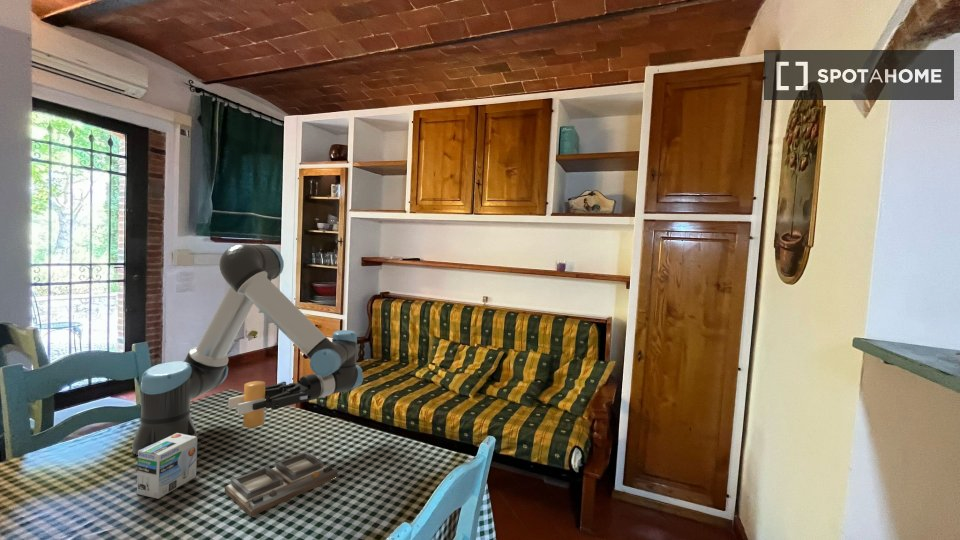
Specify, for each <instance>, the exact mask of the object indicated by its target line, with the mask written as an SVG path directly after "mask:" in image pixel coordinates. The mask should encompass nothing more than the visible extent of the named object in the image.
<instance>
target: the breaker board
mask: <svg viewBox="0 0 960 540" xmlns="http://www.w3.org/2000/svg"><path fill="white" fill-rule="evenodd" d="M335 477H337V478H338V473H337V472H336V469H334V468H333V466H331V465H329V466H327V465H325V464H324V461H322V460H320V459H319V458H317V457H315V456H314V455H313V454H311V453H309V452H308V451H305V452H302V453H299V454H296V455H293V456H290V457H288V458H285V459H283V460H280V461H278V462H276V463H275V467H273V468H270V467H269V466H264V467H262V468H259V469H256V470H254V471H251V472H248V473H245V474H242V475H239V476H238V477H235V478H232V479H231V483H230V484H228V485H226V486H224V493H225V494H226V495H227V496H228V497H230V499H231V500H232V501H234V502H235V504H236V505H238V506H239V507H240V508H241V510H243V511H244V512H245V513H246V514H247V515H248V516H249V517H253V516H256V515H258V514H260V513H263V512H265V511H266V510H269V509H271V508H273V507H276V506H277V505H280V504H282V503H285V502H287V501H289V500H291V499H294V498H296V497H297V496H298V497H299V495H302V494H304V493H306V492H309V491H310V490H312V489H315V488H317V487H319V486H321V484H322V485H323V483H324V484H326V483H328V482H330V481H332V480H331V479H333V478H335ZM335 479H336V478H335ZM329 480H330V481H329ZM333 480H334V479H333ZM327 481H328V482H327ZM325 482H326V483H325Z"/></svg>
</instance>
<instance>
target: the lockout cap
mask: <svg viewBox="0 0 960 540" xmlns="http://www.w3.org/2000/svg"><path fill="white" fill-rule="evenodd" d="M243 386H244V388H243V389H244V390H243V392H244V393H243V395H244V402H248V401H252V400H256V399H260V398H265V387H266V381H262V380H254V381H249V382H246V383H244V385H243ZM265 409H266V407H265V408H263V409H260V410H256V411H252V412H248V413H245V414H243V424H242V426H243V427H244V428H250V429H251V428H258V427H261V426H263V425H264V424H265V414H266V413H265V411H266V410H265Z"/></svg>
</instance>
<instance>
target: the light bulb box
mask: <svg viewBox="0 0 960 540" xmlns="http://www.w3.org/2000/svg"><path fill="white" fill-rule="evenodd" d="M197 457H198V436H197V435H196V436H190V435H185V434H180V433H176V434H174V435H171V436H169V437H167V438H165V439H163V440H161V441H159V442H156V443H154V444H152V445H150V446H148V447H145V448H143V449H141V450H139V451H138V456H137V474H136V476H137V477H136V479H137V480H136V494H137V495H141V496H145V497H149V498H154V499H157V500H158V499H161V498H162V497H164V496H165V495H167V494H169V493H171V492H173V491H174V490H176V489H177V488H179V487H181V486H183V485H184V484H186V483H188V482H189V481H191V480H193V479H194V478H196V477H197V462H198V461H197Z"/></svg>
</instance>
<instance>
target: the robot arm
mask: <svg viewBox="0 0 960 540" xmlns="http://www.w3.org/2000/svg"><path fill="white" fill-rule="evenodd" d="M284 264H285V263H284V259H283V256H282V254H281V252H280V251H278V250H277V248H275V247H273V246H272V245H271V246H270V245H267V244H263V243H260V244H245V243H242V244H241V243H239V244H236V245H235V244H234V245H232V246H230V247H228V248H227V249H226V250H225V251H224V252H223V253H222V254H221V256H220V260H219V270H220V274H221V276H222V278H223V279H224V281H226V283H227V284H228V288H227V290H226V292H225V294H224V296H223V297H222V299H221V301H220V304H219V305H218V307H217V309H216V311H215V313H214V315H213V316H212V319H211V320H210V323H209V325H208V326H207V328H206V330H205V331H204V334H203V336H202V337H201V340H200V342H199V343H198V345H197V346H193V347H191V348H190V349H189V351H188V353H187V355H186V356H185V359H184V361H180V360H179V361H178V360H176V361H174V360H173V361H168V362H163V363H159V364H156V365H153V366H150V367H149V368H148V369H146V370H145V371H144V372H143V373H142V376H141V383H140V385H139V386H140V388H139V389H140V424H139V425H138V428H137V431H136V434H135V435H134V438H133V441H132V445H131V447H132V448H131V450H132V451H133V452H132V451H131V452H132V454H134V455H135V454H136V455H135V456H137V455H138V451H139V450H141V449H143V448H145V447H148V446H150V445H152V444H154V443H156V442H159V441H161V440H163V439H165V438H167V437H169V436H171V435H174V434H176V433H180V434H185V435H190V436H196V437H197V430H196V427H195V424H194V422H193V419H192V417H191V400H193V399H196V398H197V397H200V396H201V395H203V394H205V393H208V392H210V391H213V390H215V389H216V388H218V386H220V385H221V384H223V382H224V381H225V380H226V379H227V376H228V372H229V367H228V363H229V356H228V355H227V354H228V352H229V350H230V349H231V347H232V345H233V342H234V341H235V339H236V337H237V335H238V334H239V331H240V329H241V328H242V326H243V325H244V322H245V320H246V318H247V316H249V315H248V314H249V312H250V311H251V309H252V307H253V305H254V306H256V308H257V309H258V310H260V312H262V314H263V315H264V316H266V317H267V318H268V319H269V321H270V322H272V323H273V325H275V326H276V328H278V329H279V331H281V332H282V333H283V334H284V335H285V337H287V338H288V339H289V340H290V341H291V342H292V343H293V344H294V345H295V346H296V347H297V348H298V349H299V350H300V351H301V352H302V353H303V354H304V355H305V356H306V357H307V358H308V359H309V366H310V368H311V371H312V372H313V373H311V374H308V375H307V374H306V375H302V376H301V377H300V378H299V380H298V382H297V383H296V382H290V383H288V384H287V382H286V381H281V382H279V383H275V384H271V385H265V398H260V399H256V400H252V401H248V402H244V394H240V395H238V396H232V397H228V398H227V399H228V402H227V403H228V404H227V408H228V410H231V409H235V408H237V413H236V414H237V415H238V416H240V415H244V414H245V413H248V412H252V411H256V410H260V409H263V408H265V409H271V410H273V411H274V410H279V409H281V408H285V407H288V406H289V407H290V406H292V405H295V404H296V405H297V404H299V403H300V404H301V403H305V402H310V401H313V400H317V399H319V398H326V397H327V396H331V395H334V394H335V395H336V394H338V393H343V392H346V391H351V390H353V389H356V388H359V387H360V386H361V385H362V383H363V381H364V374H363V368H362V367H361V366H360V365H359V364H357V363H356V362H357V345H358V341H357V340H358V335H357V333H356V331H354V330H351V329H350V330H348V329H347V330H346V329H345V330H344V329H343V330H342V329H340V330H336V331H334V332H333V334H332V338H331V340H330V339H329V338H328V337H327V336H326V335H325V334H324V333H323V332H322V331H321V330H320V329H319V328H318V327H317V326H316V325H315V324H314V323H313V322H312V321H311V320H310V319H309V318H308V317H307V316H306V315H305V314H304V313H303V312H302V311H301V310H300V308H298V307H297V306H296V305H295V304H294V303H293V302H292V301H291V300H290V299H289V298H288V297H287V296H286V295H285V294H284V293H283V292H282V291H281V290H280V289H279V288H278V287H277V286H276V285H275V284H274V283H273V282H272V281H273V280H275V279H277V278H278V277H279V276H280V275H281V274H282V273H283V270H284V266H285V265H284Z"/></svg>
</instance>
